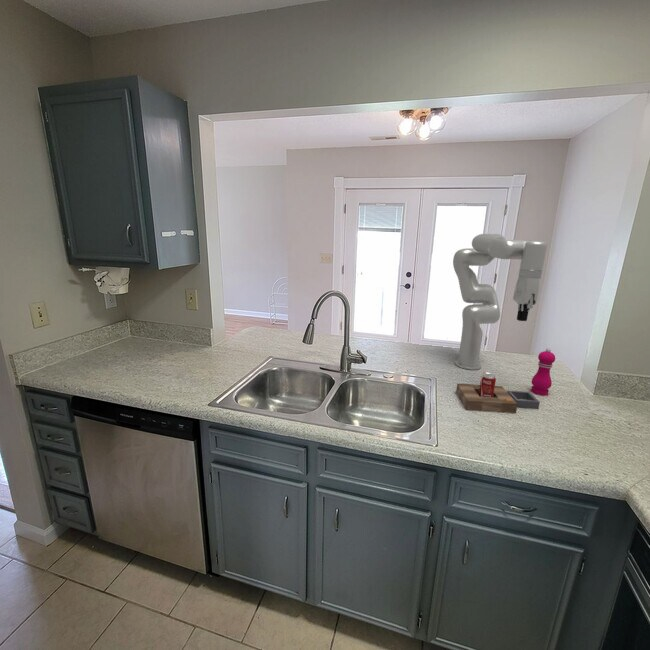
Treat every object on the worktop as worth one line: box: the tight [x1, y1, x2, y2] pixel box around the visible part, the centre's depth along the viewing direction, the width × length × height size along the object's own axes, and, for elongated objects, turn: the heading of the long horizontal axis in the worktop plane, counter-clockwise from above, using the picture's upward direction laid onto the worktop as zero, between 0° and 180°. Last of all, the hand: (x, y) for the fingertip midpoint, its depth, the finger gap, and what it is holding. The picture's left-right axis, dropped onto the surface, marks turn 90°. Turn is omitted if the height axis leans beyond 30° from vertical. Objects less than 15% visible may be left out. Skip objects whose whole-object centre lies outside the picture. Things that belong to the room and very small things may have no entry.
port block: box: [455, 382, 518, 414], centre depth 135 cm, size 15×18×4 cm
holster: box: [506, 390, 541, 410], centre depth 135 cm, size 9×9×3 cm
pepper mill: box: [530, 348, 556, 396], centre depth 142 cm, size 7×7×20 cm
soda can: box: [479, 372, 497, 397], centre depth 134 cm, size 5×5×12 cm
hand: (521, 320), depth 135 cm, fingers closed
